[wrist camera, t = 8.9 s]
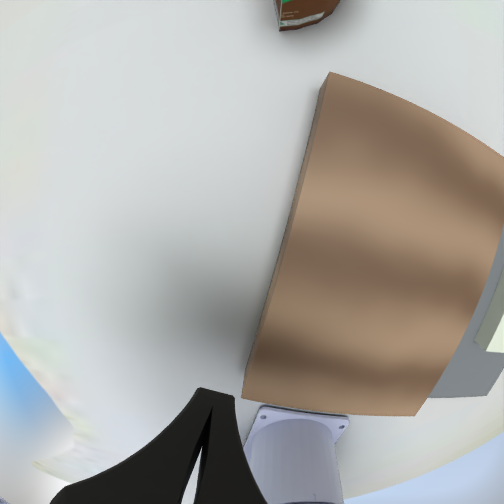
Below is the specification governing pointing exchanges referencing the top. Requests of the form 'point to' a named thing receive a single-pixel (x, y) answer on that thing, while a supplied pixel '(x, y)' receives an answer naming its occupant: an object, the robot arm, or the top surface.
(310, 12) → the food container
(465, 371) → the mat
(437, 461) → the top surface
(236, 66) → the top surface
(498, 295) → the tile
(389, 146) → the board
